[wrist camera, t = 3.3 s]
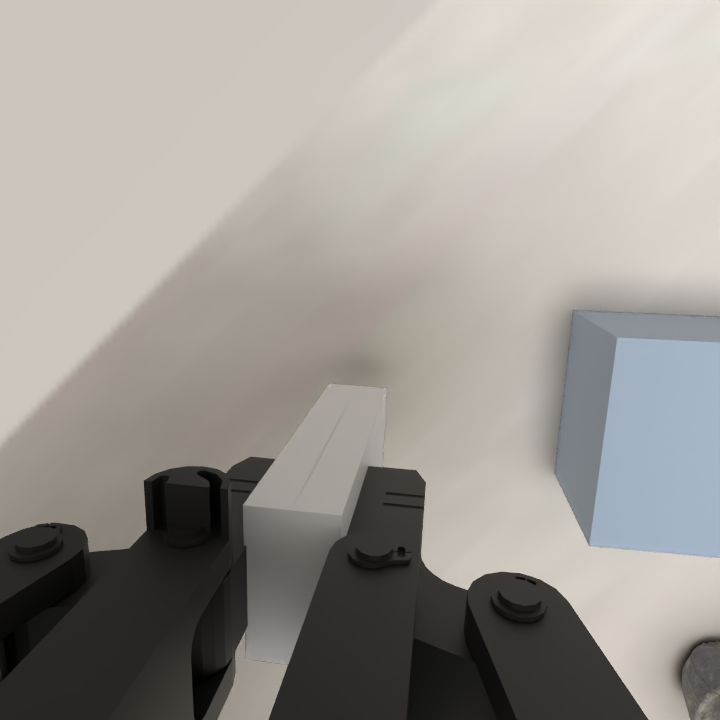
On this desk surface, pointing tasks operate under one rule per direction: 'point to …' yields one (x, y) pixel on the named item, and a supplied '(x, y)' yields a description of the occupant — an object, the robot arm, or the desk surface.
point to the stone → (702, 682)
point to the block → (643, 431)
